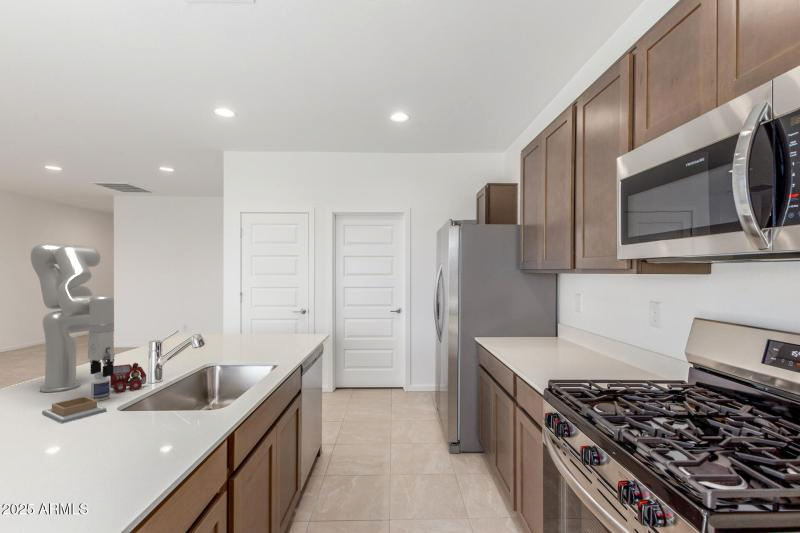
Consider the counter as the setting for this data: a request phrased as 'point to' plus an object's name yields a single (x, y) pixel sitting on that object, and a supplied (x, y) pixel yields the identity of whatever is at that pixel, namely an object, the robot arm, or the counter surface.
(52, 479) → the counter surface
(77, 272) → the robot arm
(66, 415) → the bay
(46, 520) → the counter surface
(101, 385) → the pill bottle
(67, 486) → the counter surface
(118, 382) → the toy fire truck
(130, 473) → the counter surface
